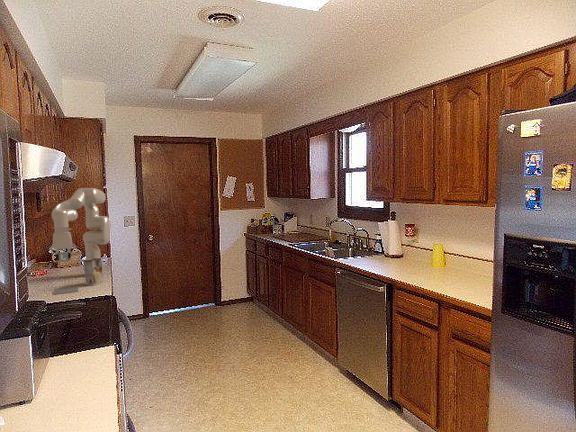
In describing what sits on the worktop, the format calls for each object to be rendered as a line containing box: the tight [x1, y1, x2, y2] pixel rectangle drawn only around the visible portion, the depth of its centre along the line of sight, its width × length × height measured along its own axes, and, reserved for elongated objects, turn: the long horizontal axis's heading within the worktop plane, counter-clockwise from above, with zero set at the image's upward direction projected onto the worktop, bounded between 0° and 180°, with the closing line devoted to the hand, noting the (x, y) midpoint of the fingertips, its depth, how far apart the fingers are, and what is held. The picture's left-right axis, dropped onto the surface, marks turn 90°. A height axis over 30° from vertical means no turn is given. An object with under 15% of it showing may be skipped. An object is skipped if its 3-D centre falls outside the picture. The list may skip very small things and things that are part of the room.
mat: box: [52, 285, 79, 296], centre depth 239 cm, size 13×13×1 cm
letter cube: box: [58, 251, 69, 263], centre depth 237 cm, size 5×5×5 cm
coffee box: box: [83, 258, 104, 286], centre depth 255 cm, size 9×6×16 cm
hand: (63, 259), depth 237 cm, fingers closed on letter cube, 5 cm apart
